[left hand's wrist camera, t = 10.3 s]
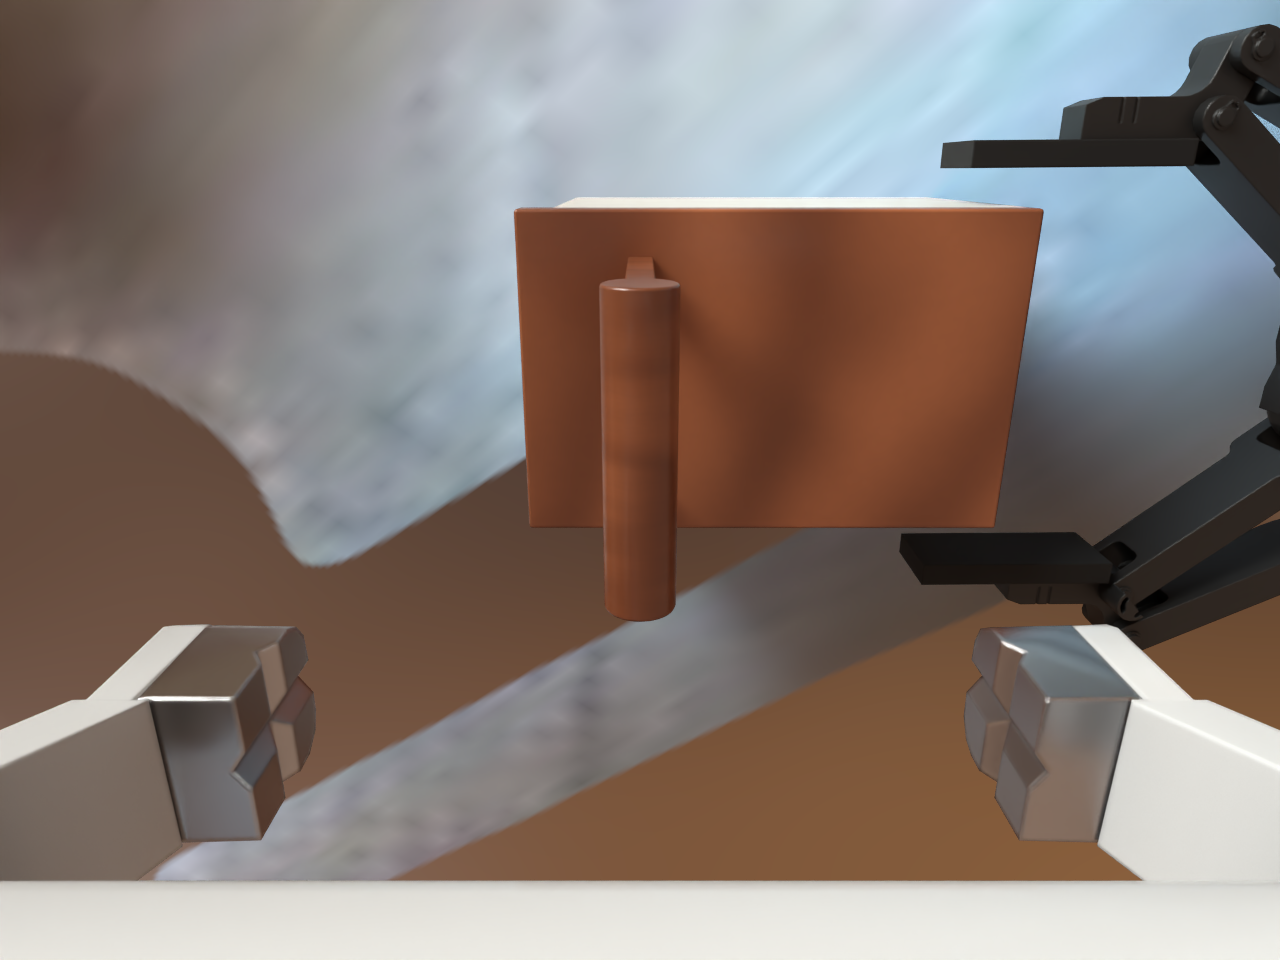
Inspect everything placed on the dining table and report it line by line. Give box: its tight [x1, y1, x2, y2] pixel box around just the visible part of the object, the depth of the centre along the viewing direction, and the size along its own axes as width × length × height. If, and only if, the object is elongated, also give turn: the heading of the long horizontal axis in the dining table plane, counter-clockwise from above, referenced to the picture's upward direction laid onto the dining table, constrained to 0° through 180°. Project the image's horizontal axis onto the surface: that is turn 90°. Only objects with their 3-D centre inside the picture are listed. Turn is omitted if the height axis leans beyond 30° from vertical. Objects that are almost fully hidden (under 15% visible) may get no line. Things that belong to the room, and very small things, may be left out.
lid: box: [514, 207, 1044, 622], centre depth 22 cm, size 15×10×9 cm, turn 90°
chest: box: [554, 197, 1020, 208], centre depth 30 cm, size 14×10×9 cm
